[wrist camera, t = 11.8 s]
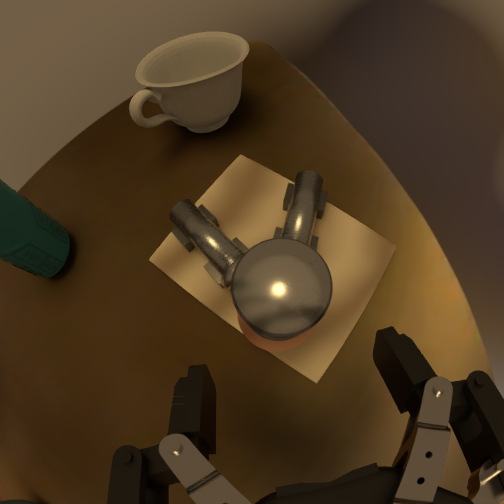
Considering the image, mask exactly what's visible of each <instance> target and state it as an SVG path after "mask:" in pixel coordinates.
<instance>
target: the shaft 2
mask: <svg viewBox="0 0 504 504" xmlns="http://www.w3.org/2000/svg"><path fill="white" fill-rule="evenodd" d="M322 184H323V179H322V177H321V176H320V175H319V174H318V173H316V172H313V171H309V170H304V171H300V172H299V173H297V175H296V179H295V183H294V184H292V183H288V186H287V189H286V193H285V197H284V200H283V210H284V211H287V214H286V218H285V222H284V225H283V228H280V227H276V229H275V233H274V236H273V238H290V239H295V240H298V241H301V242H303V243H305V244H307V245H309V246H311V247H312V248H313V249H315V250H316V249H317V244H318V239H319V237H317V236H313V235H312V234H313V229H314V224H315V220H316V218H318V219H321V218H322V216H323V213H324V209H325V203H326V198H327V192H326V191H322Z"/></svg>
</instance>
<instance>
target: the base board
mask: <svg viewBox="0 0 504 504" xmlns="http://www.w3.org/2000/svg"><path fill="white" fill-rule="evenodd" d="M288 183H292V184H294V183H293V182H292V181H290V180H288V179H286V178H284V177H283V176H281V175H279V174H277V173H275V172H273V171H271V170H270V169H268V168H266V167H264V166H262V165H260V164H258V163H256V162H254V161H252V160H250V159H248V158H246V157H244V156H242V155H240V156H239V157H238V158H237V159H236V160H235V161H234V162H233V163H232V164H231V165H230V166H229V167H228V168H227V169H226V170H225V171H224V172H223V174H222V175H221V176H220V177H219V178H218V179H217V180H216V181H215V182H214V183H213V184H212V186H211V187H210V188H209V189H208V190H207V191H206V192H205V193H204V194H203V196H202V197H201V198H200V199H199V200H198V201H197V202H196V204H195V205H196V206H197V207H199V206H200V205H201V204H202V205H203V206H204V207H205V208H206V209H208V210H209V211H210V212H211V213H212V214H213V215H214V216H215V217H216V218H217V221H218V224H219V227H218V228H219V229H220V230H221V231H222V232H223V233H225V234H226V235H227V236H228V237H229V238H230V239H231V240H233V239H234V238H235V237H237V238H238V239H239V240H240V241H241V242H242V243H243V244H244V245H245V246H246V247H247V248H248V249H250V248H251V247H253V246H254V245H256V244H258V243H260V242H262V241H265V240H268V239H273V236H274V233H275V229H276V227H280V228H283V225H284V222H285V218H286V214H287V211H284V210H283V200H284V197H285V193H286V189H287V186H288ZM312 235H313V236H317V237H319V239H318V244H317V249H316V251H317V252H318V253H319V254H320V255H321V256H322V258H323V259H324V261H325V262H326V264H327V266H328V268H329V270H330V273H331V277H332V282H333V292H332V298H331V302H330V305H329V307H328V309H327V311H326V313H325V315H324V316H323V317H322V319H321V320H320V321H319V322H318V323H317V324H316V325H315V326H313V327H312V328H311V329H309V330H307V331H305V332H304V333H302V334H300V335H298V336H296V337H294V338H292V339H289V340H285V341H272V340H268V339H265V338H263V337H261V336H259V335H258V334H256V333H255V332H254V331H253V330H252V329H251V328H250V327H249V326H248V325H247V324H246V322H245V321H244V320H243V319H242V318H241V317H240V315H239V314H238V312H237V310H236V308H235V306H234V303H233V301H232V296H231V291H228V290H227V289H226V288H225V287H224V288H222V287H221V286H220V285H219V284H218V283H217V282H216V281H215V280H214V279H213V278H212V277H211V275H210V274H209V273H208V272H207V271H206V270H205V268H204V267H203V266H204V265H205V264H207V263H208V262H209V261H208V260H207V259H206V258H205V257H204V255H203V254H202V253H201V252H200V251H199V250H198V249H197V248H196V247H195V248H194V249H193V250H192V251H191V252H190V253H189V252H188V250H187V249H186V248H185V247H184V246H183V245H182V244H181V243H180V242H179V240H178V239H177V238H176V237H175V236H174V234H173V233H172V232H171V233H170V234H169V235H168V237H167V238H166V239H165V240H164V241H163V243H162V244H161V245H160V246H159V248H158V249H157V250H156V251H155V253H154V254H153V255H152V256H151V258H150V259H149V260H150V261H151V262H152V263H153V264H155V265H156V266H157V267H158V268H159V269H160V270H162V271H163V272H164V273H165V274H166V275H168V276H169V277H170V278H171V279H173V280H174V281H175V282H176V283H177V284H179V285H180V286H181V287H182V288H184V289H185V290H186V291H187V292H189V293H190V294H191V295H192V296H194V297H195V298H196V299H198V300H199V301H200V302H201V303H203V304H204V305H205V306H207V307H208V308H209V309H210V310H212V311H213V312H214V313H216V314H217V315H218V316H220V317H221V318H222V319H224V320H225V321H226V322H228V323H229V324H230V325H232V326H233V327H235V328H236V329H237V330H239V331H240V332H241V333H243V334H244V335H245V337H246V338H247V339H248V340H249V341H250V342H251V343H253V344H254V345H256V346H257V347H259V348H261V349H264V350H267V351H268V352H270V353H271V354H273V355H274V356H276V357H277V358H279V359H280V360H281V361H283V362H284V363H286V364H287V365H289V366H290V367H292V368H294V369H295V370H297V371H298V372H300V373H301V374H303V375H304V376H306V377H307V378H309V379H310V380H312V381H314V382H315V383H317V382H318V381H319V379H320V378H321V377H322V375H323V374H324V372H325V371H326V369H327V368H328V366H329V365H330V364H331V362H332V361H333V359H334V358H335V356H336V355H337V353H338V351H339V350H340V348H341V347H342V345H343V344H344V342H345V341H346V339H347V337H348V336H349V334H350V333H351V331H352V329H353V328H354V326H355V324H356V323H357V321H358V319H359V318H360V316H361V314H362V312H363V311H364V309H365V307H366V306H367V304H368V302H369V300H370V298H371V297H372V295H373V293H374V291H375V289H376V287H377V285H378V284H379V282H380V280H381V278H382V276H383V274H384V272H385V270H386V268H387V266H388V264H389V262H390V260H391V258H392V256H393V254H394V252H395V250H396V246H395V245H393V244H392V243H390V242H389V241H388V240H386V239H385V238H383V237H382V236H380V235H379V234H377V233H376V232H374V231H373V230H371V229H370V228H368V227H366V226H365V225H363V224H362V223H360V222H359V221H357V220H356V219H354V218H352V217H351V216H349V215H348V214H346V213H344V212H343V211H341V210H340V209H338V208H336V207H335V206H333V205H331V204H330V203H328V202H326V203H325V209H324V213H323V216H322V218H321V219H318V218H316V220H315V224H314V229H313V234H312Z"/></svg>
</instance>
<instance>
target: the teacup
mask: <svg viewBox="0 0 504 504" xmlns="http://www.w3.org/2000/svg"><path fill="white" fill-rule="evenodd" d="M248 52H249V45H248V43H247V42H246V41H245V40H244V39H243V38H241V37H239V36H237V35H234V34H230V33H225V32H202V33H196V34H191V35H187V36H183V37H180V38H177V39H174V40H172V41H169V42H167V43H165V44H163V45H161V46H159V47H157V48H156V49H154V50H153V51H152V52H150V53H149V54H148V55H147V56H145V57H144V59H143V60H142V61H141V62H140V64H139V66H138V67H137V69H136V73H135V76H136V79H137V81H138V82H140V83H141V84H143V85H146V86H148V87H149V89H150V90H151V91H149V90H141V91H139V92H137V93H136V94H135V95H134V96H133V98H132V99H131V102H130V106H129V110H130V115H131V117H132V119H133V120H134V122H135V123H137V124H138V125H140V126H142V127H155V126H157V125H160V124H161V123H163V122H165V121H169V120H172V121H173V122H175V123H176V124H178V125H181V126H184V127H187V128H188V129H189V130H190V131H192V132H196V133H207V132H211V131H214V130H216V129H218V128H220V127H222V126H223V125H224V124H225V123H226V122H227V121H228V119H229V115H230V114H231V113H232V112H233V111H234V110H235V109H236V107H237V105H238V103H239V99H240V95H241V81H242V63H243V60H244V58H245V57H246V56H247V54H248ZM147 99H148V100H149V101H151V102H153V103H159V105H160V106H161V108H162V110H163V111H164V112H165V114H159V115H156V116H154V117H151V118H144V117H143V115H142V111H141V109H142V105H143V103H144V102H145V101H146V100H147Z"/></svg>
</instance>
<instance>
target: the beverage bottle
mask: <svg viewBox="0 0 504 504" xmlns="http://www.w3.org/2000/svg"><path fill="white" fill-rule="evenodd" d="M25 198H26V197H25ZM25 198H24V196H23V195H22V196H21V195H20V194H19V193H17V192H16V191H14V190H13V189H12V188H10V187H9V186H8V185H7V184H6V183H4V182H3V181H2V180H1V179H0V258H2V259H4V261H5V260H6V261H8V262H10V263H9V264H13V265H14V264H15V265H14V266H16V265H17V266H16V267H18V266H19V268H21V269H23V270H25V271H27V270H28V271H27V272H30V273H32V274H34V275H35V276H36V274H37V275H39V276H40V278H41V277H44V278H46V277H51V276H53V275H55V274H56V273H58V272H59V271H60V269H61V268H62V267H63V265H64V263H65V261H66V259H67V257H68V253H69V248H70V240H69V236H68V234H67V232H66V229H64V228H65V227H64V228H63V227H62V226H61V225H59V224H58V223H59V222H58V221H57V222H55V220H53V219H54V218H53V219H51V218H50V217H48V216H47V215H46V214H47V213H46V212H45V213H46V214H44V213H43V212H44V211H43V212H42V211H40V210H41V209H40V208H39V209H40V210H39V209H38V208H37V207H35V204H34V205H33V203H32V204H31V201H30V202H29V201H27V199H25ZM49 216H50V215H49ZM2 259H1V260H2ZM6 261H5V262H6ZM39 276H38V277H39Z"/></svg>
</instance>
